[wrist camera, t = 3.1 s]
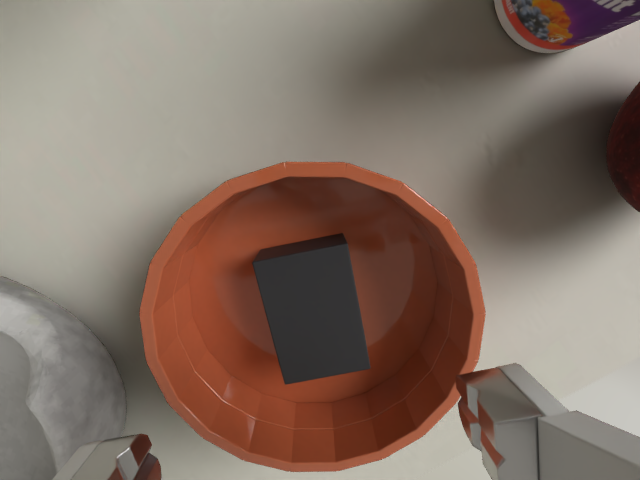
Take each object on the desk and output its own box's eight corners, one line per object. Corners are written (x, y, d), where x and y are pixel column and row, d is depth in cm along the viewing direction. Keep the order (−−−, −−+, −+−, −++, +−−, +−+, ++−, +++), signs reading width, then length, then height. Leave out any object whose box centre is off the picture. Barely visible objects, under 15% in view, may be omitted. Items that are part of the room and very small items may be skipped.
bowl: (220, 122, 14) (183, 105, 10) (485, 214, 15) (545, 232, 11) (160, 366, 16) (113, 429, 13) (385, 427, 18) (406, 501, 14)
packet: (259, 249, 14) (251, 262, 13) (343, 232, 14) (347, 243, 12) (288, 358, 16) (284, 385, 14) (364, 344, 16) (371, 369, 14)
